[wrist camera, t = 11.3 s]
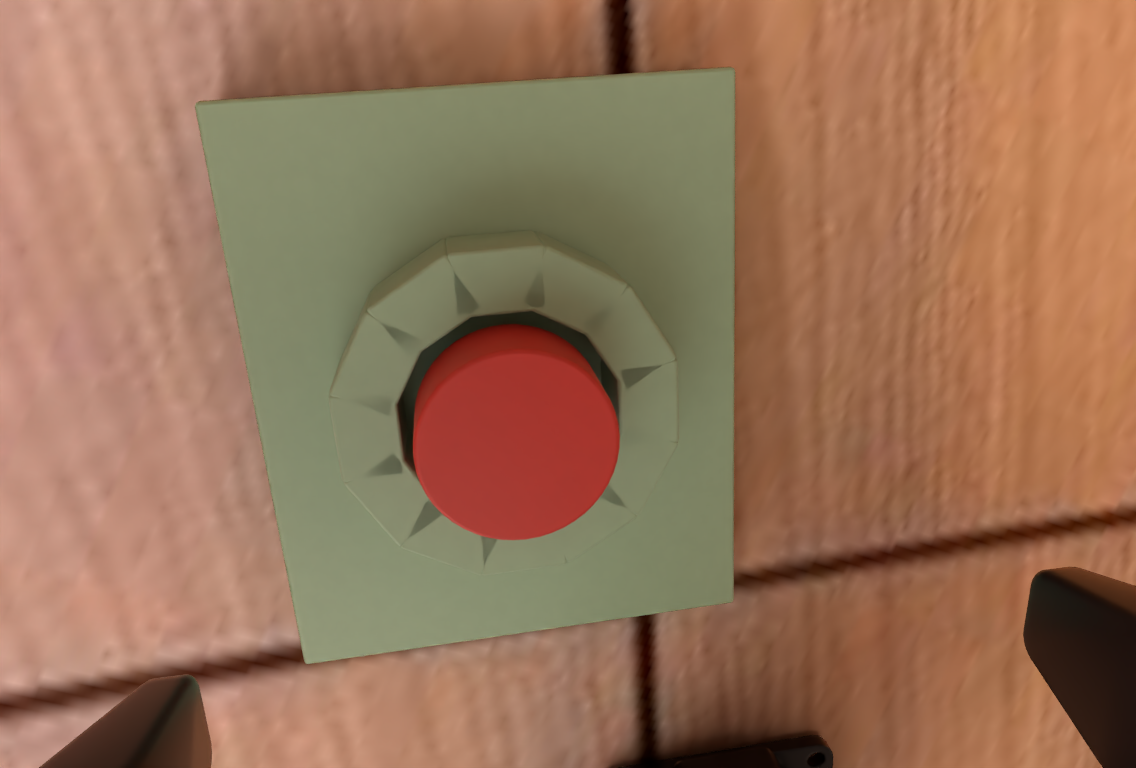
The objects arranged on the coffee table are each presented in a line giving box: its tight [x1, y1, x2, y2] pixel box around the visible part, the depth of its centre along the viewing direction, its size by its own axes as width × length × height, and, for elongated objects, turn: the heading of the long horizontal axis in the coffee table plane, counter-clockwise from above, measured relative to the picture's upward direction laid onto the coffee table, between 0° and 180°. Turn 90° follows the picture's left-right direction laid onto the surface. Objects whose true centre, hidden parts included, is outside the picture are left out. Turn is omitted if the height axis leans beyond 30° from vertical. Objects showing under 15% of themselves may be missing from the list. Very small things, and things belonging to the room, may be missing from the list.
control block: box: [195, 67, 735, 664], centre depth 18 cm, size 12×10×4 cm
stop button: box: [413, 324, 620, 540], centre depth 15 cm, size 4×4×2 cm
